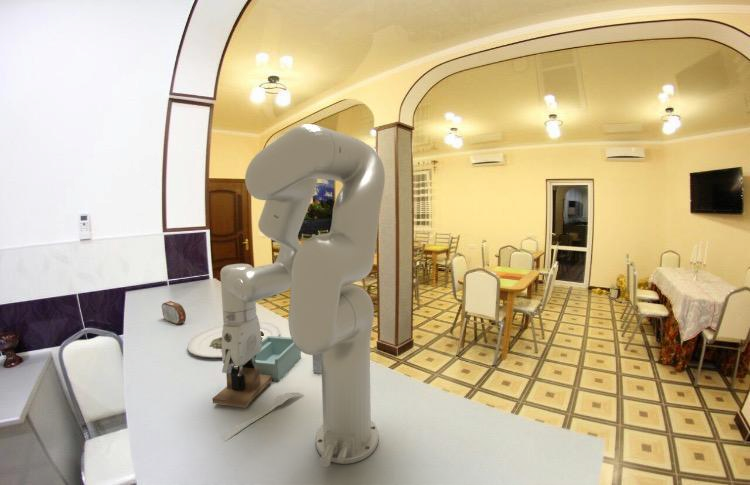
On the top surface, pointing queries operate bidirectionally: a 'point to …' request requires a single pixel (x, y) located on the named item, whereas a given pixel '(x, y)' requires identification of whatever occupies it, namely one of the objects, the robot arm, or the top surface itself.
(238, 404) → the cover plate
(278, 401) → the fork
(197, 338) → the plated food
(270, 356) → the slide box
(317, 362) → the medicine box
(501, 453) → the top surface
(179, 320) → the tin
